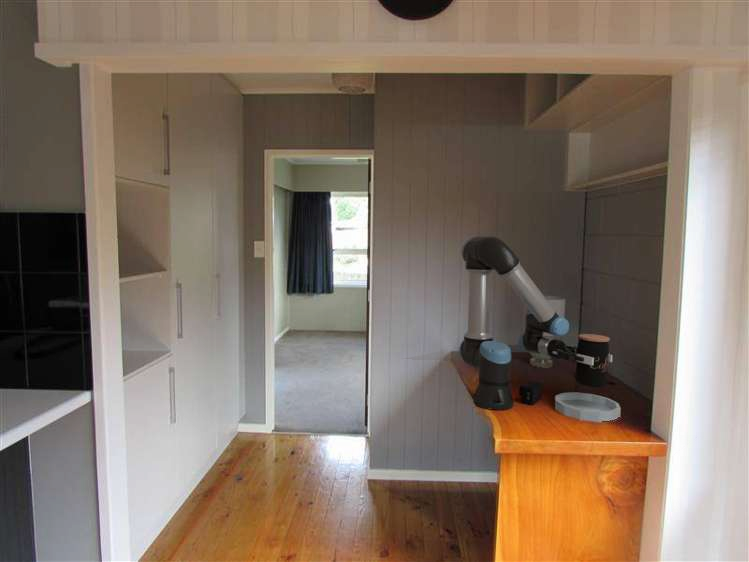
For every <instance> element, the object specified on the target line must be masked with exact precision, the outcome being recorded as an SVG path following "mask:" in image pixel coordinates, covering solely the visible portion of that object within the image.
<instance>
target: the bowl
mask: <svg viewBox="0 0 749 562" xmlns="http://www.w3.org/2000/svg"><path fill="white" fill-rule="evenodd" d="M554 410H555V411H557V412H559V413H560V414H562V415H563V416H566V417H568V418H572V419H577V420H579V421H587V422H591V423H592V422H593V423H603V422H602V421H610V420H611V421H612V420H615V419H617V418H618V417H620V418H621V410H622V408H621V406H620V404H619V403H618V402H617V401H615V400H613V399H610V398H608V397H605V396H601V395H598V394H593V393H585V392H577V391H576V392H575V391H573V392H572V391H571V392H562V393H558V394H556V395H555V396H554ZM617 420H618V419H617ZM615 421H616V420H615Z"/></svg>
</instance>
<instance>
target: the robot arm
mask: <svg viewBox="0 0 749 562" xmlns="http://www.w3.org/2000/svg"><path fill="white" fill-rule="evenodd" d="M461 256H462V257H461V258H462V260H463V261H464V262H465V270H466V272H467V273H468V280H469V281H468V310H467V311H468V313H467V314H468V317H467V332H465V333H464V335H463V340H462V342H460V344H459V349H458V351H459V356H460V358H461V360H462V361H463V362H464V363H465V364H466V365H468V366H469V367H471V368H474V369H475V370H477V371H478V384H477V386H476V389H475V391H474V394H473V399H472V403H473V404H474V405H475V406H477V407H479V408H483V409H485V408H491V409H498V410H497V411H503V410H502V409H507V410H510V409H509V408H511V409H512V408H514V401H515V400H514V398H513V393H512V389H511V387H510V386H511V385H510V383H511V382H510V381H511V365H512V364H511V363H512V362H511V361H512V351H511V348H510V346H509V345H507V344H506V343H503V342H498V341H494V339H493V338H494V337H493V335H492V334H491V333H490V317H491V315H490V310H491V285H492V284H491V281H492V278H491V277H492V274H493V273H494V272H495V271H496V273H497V274H498V276H500V277H501V276H502V277H503V278H504V279H505V281H506V282H507V283H508V284H509V286H510V287H511V288H512V289H513V290H514V292H515V293H516V294H517V295H518V297H519V299H520V300H521V301H522V302H523V304H524V303H525V305H526V306H527V309H526V315H525V316H526V319H525V332H522V333H521V334H520V335H519V338H518V341H517V342H518V346H519V347H520V349H522V350H525V351H527V352H529V353H530V352H534V353H538V354H542V355H545V357H547V356H550V357H551V358H553V359H557V360H560V359H562V360H565V361H568V362H571V361H572V362H571V363H572V364H576V363H577V362H581V363H585V364H589V365H593V363H594V358H593V357H588V356H584V355H580V354H577V352H578V346H575V345H574V346H571V345H566V343H565V341H563V340H561V339H556V338H551V337H549V336H548V337H549V338H548V337H543V333H544V332H545V333H548V334H551V335H553V336H552V337H563V336H566V334H567V333H568V332H569V331H570V323H569V321H568V320H567V318H565V317H564V318H563V317H559V316H558V315H557V313H556V312H555V311H554V309H553V308H552V307H551V305H550V304H549V303H548V301H547V300H546V299H545V297H544V296H545V295H544V294H543V293H542V292H541V291H540V290H539V287H537V285H536V284H535V283H534V282H533V280H532V279H531V278H530V276H529V274H528V273H527V272H526V270H525V269H524V268H523V266H522V265H521V264H520V263H521V260H520V258H519V257H518V255H517V254H516V253H515V252H514V250H513V249H512V248H511V247H510V246H509V245H508V244H507V243H506V242H505V241H504V240H503V239H501V238H499V237H497V236H493V235H491V236H474V237H470V238H469V239H468V240H466V241H465V242H464V243H463V245H462V248H461ZM608 363H613V354H610V353H609V357H608ZM491 409H490V410H491Z"/></svg>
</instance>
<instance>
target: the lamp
mask: <svg viewBox="0 0 749 562" xmlns="http://www.w3.org/2000/svg"><path fill="white" fill-rule="evenodd" d="M543 296H544V297H545V299H546V300H547V301H548V303H549V304H550V305H551V307H552V308H553V309H554V311H555V312H556V313H557V315H558V316H559V317H563V318H564V319H565V315H566V314H565V311H566V298H564V297H561V296H554V295H553V296H552V295H543ZM526 309H527V306H526V305H525V303H524V302H523V310H522V333H525V319H526V316H525V315H526ZM543 337H548V338H550V337H554V336H553V335H551V334H548V333H545V332H544V333H543ZM529 354H530V355H531V358H530V359H529V365H530V364H531V365H530V366H532V365H533V366H532V367H534V366H537V367H536V368H539V367H542V368H541V369H549V368H553V360H551V359H552V357H550V356H547V357H545V355H542V354H538V353H534V352H529Z"/></svg>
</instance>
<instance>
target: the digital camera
mask: <svg viewBox="0 0 749 562" xmlns="http://www.w3.org/2000/svg"><path fill="white" fill-rule="evenodd" d="M542 385H543V383H542V382H537V381H535V380H534V381H533V380H531V381H529V382H527V383H526V384H521V385H520V386H519V390H518V395H519V396H520V397H521V400H520V401H521V403H523V404H522V405H524V404H527V405H526V406H529V405H531V407H533V406H534V405H536V404H537V403H538V402H540V401H541V400H542V387H543V386H542ZM540 399H541V400H540ZM539 400H540V401H539ZM536 402H537V403H536ZM535 403H536V404H535ZM532 405H533V406H532Z"/></svg>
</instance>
